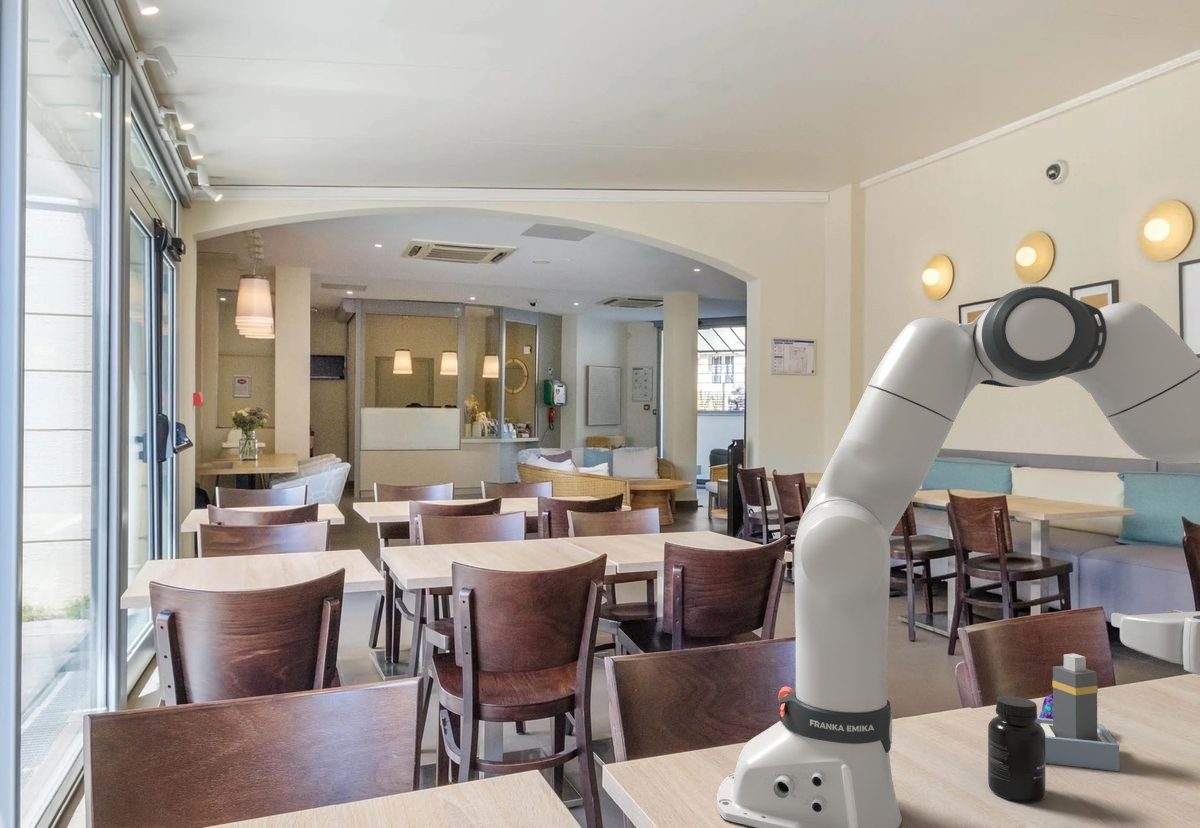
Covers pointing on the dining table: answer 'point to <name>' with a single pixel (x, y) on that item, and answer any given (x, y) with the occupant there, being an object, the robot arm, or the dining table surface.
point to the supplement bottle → (1016, 751)
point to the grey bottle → (1074, 699)
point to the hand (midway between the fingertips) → (1141, 617)
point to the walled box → (1080, 749)
